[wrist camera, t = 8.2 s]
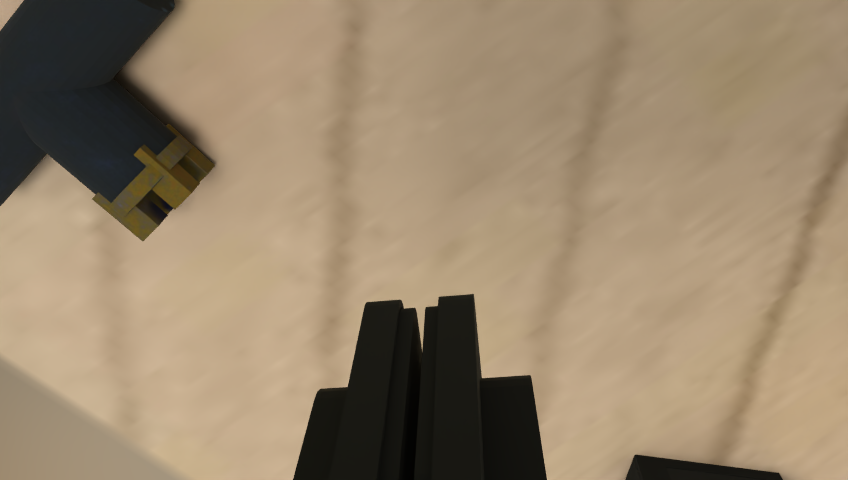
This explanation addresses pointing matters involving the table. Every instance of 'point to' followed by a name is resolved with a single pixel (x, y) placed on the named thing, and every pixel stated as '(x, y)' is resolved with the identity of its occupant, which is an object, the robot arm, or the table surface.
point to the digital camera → (690, 471)
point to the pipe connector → (90, 108)
